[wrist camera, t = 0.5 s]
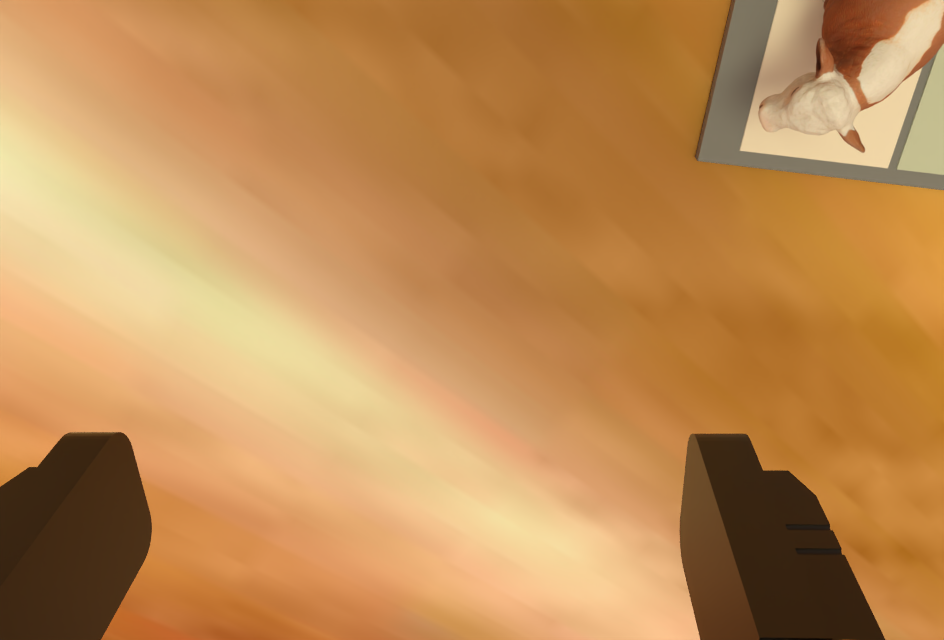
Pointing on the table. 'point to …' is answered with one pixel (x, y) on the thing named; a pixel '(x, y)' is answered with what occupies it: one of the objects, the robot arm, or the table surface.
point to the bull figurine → (857, 64)
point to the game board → (879, 127)
